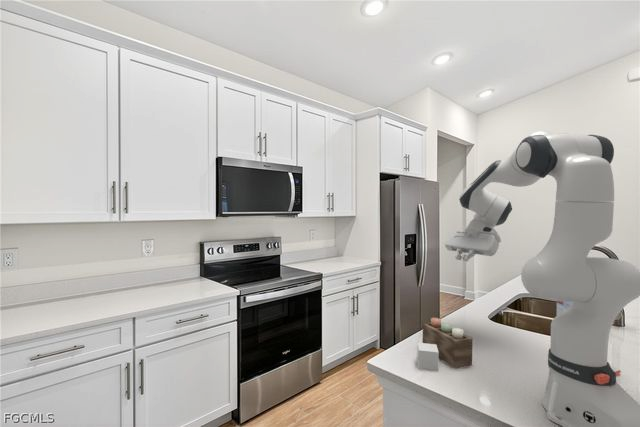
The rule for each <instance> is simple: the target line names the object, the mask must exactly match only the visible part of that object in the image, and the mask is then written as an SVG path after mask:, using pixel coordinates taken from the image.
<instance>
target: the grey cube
mask: <svg viewBox="0 0 640 427" xmlns="http://www.w3.org/2000/svg"><path fill="white" fill-rule="evenodd" d="M416 355H417V360H418V361H417V360H416V361H417V367H418V369H419V370H426V371H434V370H435V372H439V360H440V359H439V352H438V348H437V345H436V344H427V343H423V342H417V354H416Z"/></svg>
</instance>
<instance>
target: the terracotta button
mask: <svg viewBox="0 0 640 427" xmlns="http://www.w3.org/2000/svg"><path fill="white" fill-rule="evenodd" d="M430 323H431V326H432V327H435V328H439V327H441V323H442V319H441V318H439V317H430Z"/></svg>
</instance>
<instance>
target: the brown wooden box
mask: <svg viewBox="0 0 640 427" xmlns="http://www.w3.org/2000/svg"><path fill="white" fill-rule="evenodd" d="M422 343H427V344H436V345H437V348H438V352H439V360H441V361H442V362H444V363H446V364H447V365H449V366H450V367H452V368H454V369H455V370H456V369H460V368H465V367H470V366H473V338H472V336H469V335H467V334H464V333H463V339H456V338H453V337H452V332H451V333H444V332H442V331H441V327H439V328H435V327H432V326H431V322H428V323H427V322H426V323H422Z"/></svg>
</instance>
